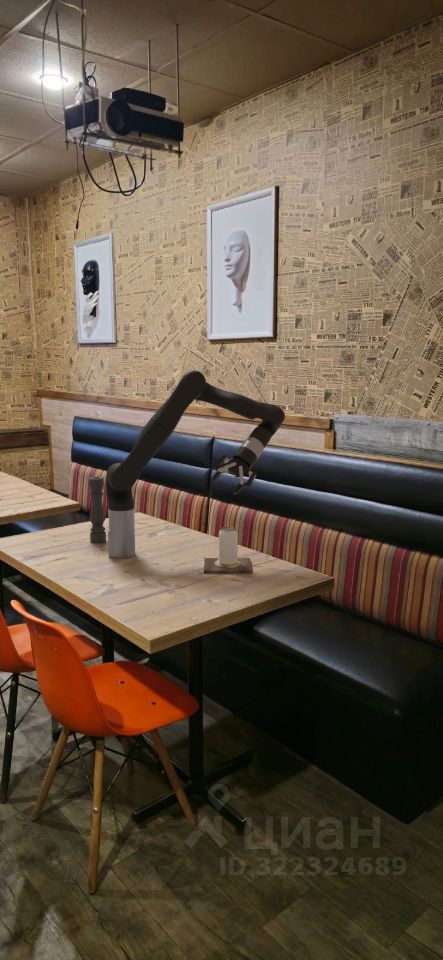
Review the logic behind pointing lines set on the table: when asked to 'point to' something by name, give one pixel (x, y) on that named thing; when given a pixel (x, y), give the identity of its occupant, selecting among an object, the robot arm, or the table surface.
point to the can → (228, 545)
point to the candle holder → (97, 510)
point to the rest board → (227, 566)
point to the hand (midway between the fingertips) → (223, 487)
